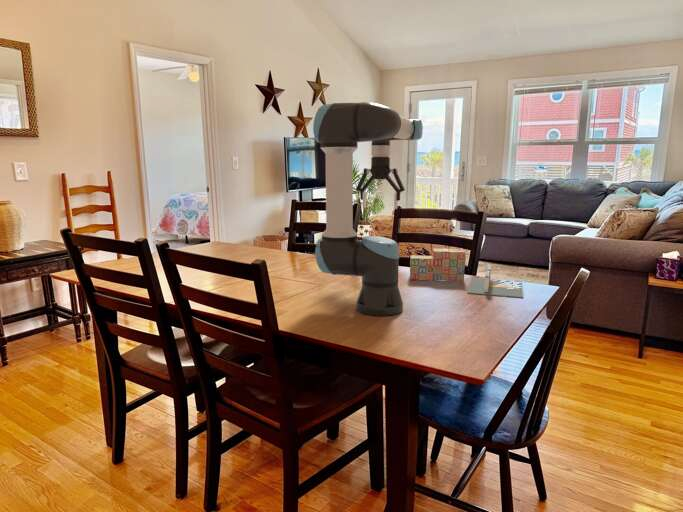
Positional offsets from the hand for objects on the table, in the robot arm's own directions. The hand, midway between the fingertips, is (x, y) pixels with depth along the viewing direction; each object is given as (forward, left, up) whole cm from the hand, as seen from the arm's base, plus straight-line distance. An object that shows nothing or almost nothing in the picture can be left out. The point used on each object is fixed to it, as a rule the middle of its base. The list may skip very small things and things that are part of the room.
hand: (379, 208), depth 199 cm
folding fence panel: (-14, -45, -27) cm, 54 cm away
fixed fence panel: (-3, -45, -28) cm, 53 cm away
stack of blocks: (-3, -25, -28) cm, 38 cm away
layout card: (-9, -48, -28) cm, 56 cm away
